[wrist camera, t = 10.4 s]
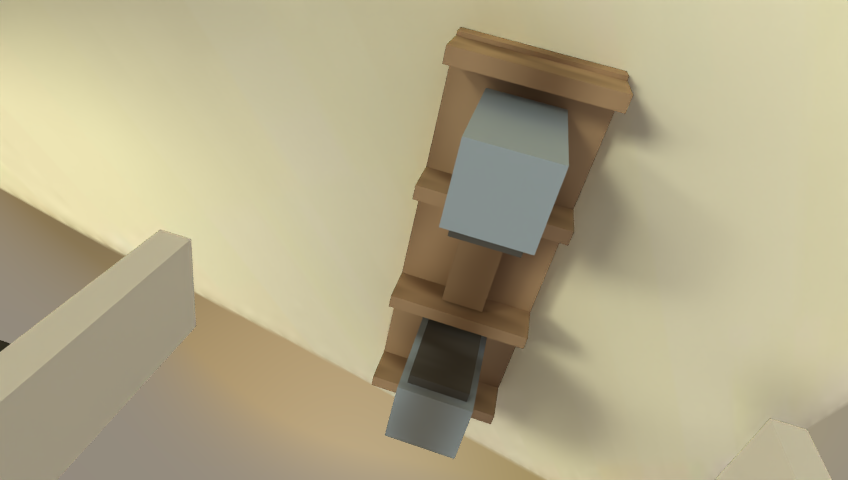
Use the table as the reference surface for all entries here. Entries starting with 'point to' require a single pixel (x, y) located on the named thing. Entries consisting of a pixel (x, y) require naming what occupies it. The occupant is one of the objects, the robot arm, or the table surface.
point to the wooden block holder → (476, 265)
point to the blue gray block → (507, 173)
